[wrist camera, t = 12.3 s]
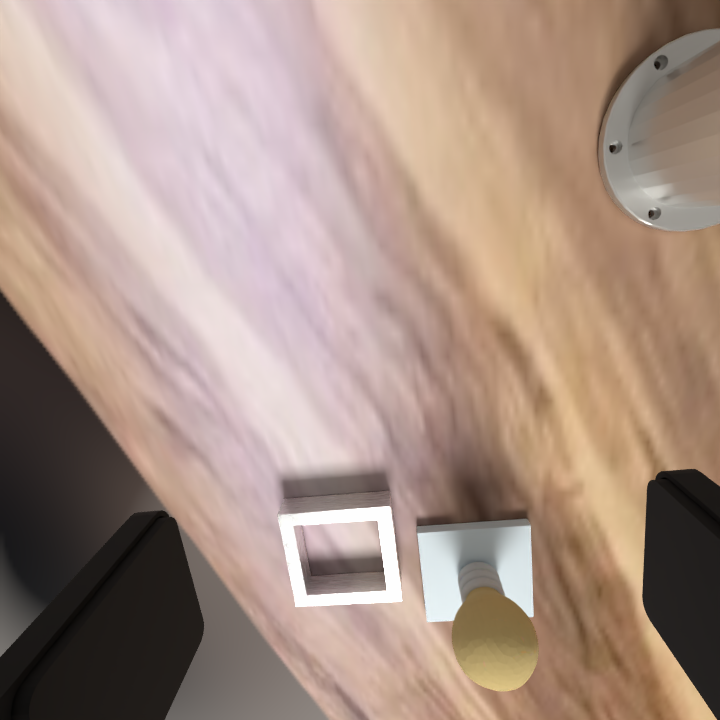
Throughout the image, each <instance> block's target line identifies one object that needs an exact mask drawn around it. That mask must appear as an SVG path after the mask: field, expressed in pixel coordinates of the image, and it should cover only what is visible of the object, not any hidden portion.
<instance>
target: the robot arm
mask: <svg viewBox="0 0 720 720" xmlns="http://www.w3.org/2000/svg"><path fill="white" fill-rule="evenodd" d="M654 64H655V65H656V66H657V68H655V66H654ZM610 146H612V147H613V151H612V153H611V152H610V150H609V147H610ZM598 159H599V167H600V174H601V177H602V180H603V183H604V185H605V188H606V190H607V192H608V194H609V195H610V197H611V199H612V200H613V202H614V203H615V204H616V205H617V206H618V208H619V209H620V210H621V211H622V212H623V213H624V214H625V215H627V216H628V217H630V218H631V219H633V220H634V221H636V222H637V223H639V224H642V225H645V226H647V227H650V228H652V229H658V230H664V231H691V230H699V229H704V228H707V227H711V226H714V225H717V224H720V28H714V29H704V30H701V31H697V32H693V33H690V34H686V35H684V36H682V37H680V38H678V39H676V40H674V41H671V42H669V43H667V44H666V45H664V46H663V47H661V48H660V49H658V50H657V51H655V52H654V53H652V54H651V55H650V56H649V57H647V58H646V59H645V60H644V61H643V62H641V63H640V64H639V65H638V66H637V67H635V69H634V70H633V71H632V72H631V73H630V74H629V76H628V77H627V78H626V79H625V80H624V81H623V82H622V84H621V85H620V87H619V89H618V90H617V92H616V93H615V95H614V97H613V98H612V100H611V102H610V104H609V107H608V109H607V112H606V114H605V116H604V119H603V123H602V127H601V131H600V136H599V147H598ZM649 211H650V212H651V215H650V216H648V213H649ZM642 597H643V604H644V608H645V611H646V613H647V616H648V618H649V619H650V621H651V623H652V624H653V626H654V627H655V628H656V630H657V631H658V633H659V634H660V636H661V637H662V639H663V640H664V642H665V643H666V645H667V646H668V648H669V649H670V651H671V652H672V654H673V655H674V657H675V658H676V659H677V661H678V662H679V664H680V665H681V667H682V668H683V670H684V671H685V673H686V674H687V676H688V677H689V679H690V680H691V682H692V683H693V685H694V686H695V688H696V689H697V690H698V692H699V693H700V695H701V696H702V698H703V699H704V701H705V702H706V704H707V705H708V707H709V708H710V710H711V711H712V713H713V714H714V716H715V717H716V718H717V720H720V486H718V485H717V484H716V483H714V482H713V481H712V480H710V479H709V478H708V477H706V476H705V475H704V474H702V473H701V472H700V471H698V470H696V469H686V470H673V471H661V472H659V473H658V474H657V476H656V479H655V480H651V481H649V483H648V486H647V504H646V526H645V549H644V572H643V594H642ZM203 631H204V622H203V617H202V613H201V610H200V606H199V602H198V599H197V595H196V591H195V588H194V584H193V580H192V577H191V573H190V569H189V566H188V562H187V558H186V555H185V551H184V547H183V543H182V540H181V536H180V533H179V529H178V525H177V522H176V520H175V519H174V518H173V517H169V515H168V514H167V513H166V512H165V511H150V512H138V513H134V514H133V515H132V516H130V518H129V519H128V520H127V521H126V522H125V523H124V524H123V525H122V526H121V527H120V528H119V529H118V531H117V532H116V533H115V534H114V535H113V536H112V537H111V538H110V539H109V540H108V541H107V543H105V545H104V546H103V547H102V548H101V549H100V550H99V551H98V552H97V553H96V554H95V555H94V556H93V558H92V559H91V560H90V561H89V562H88V563H87V564H86V565H85V566H84V567H83V568H82V569H81V571H80V572H79V573H78V574H77V575H76V576H75V577H74V578H73V579H72V580H71V581H70V583H68V585H67V586H66V587H65V588H64V589H63V590H62V591H61V592H60V593H59V594H58V595H57V597H56V598H55V599H54V600H53V601H52V602H51V603H50V604H49V605H48V606H47V607H46V609H45V610H44V611H43V612H42V613H41V614H40V615H39V616H38V617H37V618H36V619H35V620H34V621H33V622H32V623H31V625H30V626H29V627H28V628H27V629H26V630H25V631H24V632H23V633H22V634H21V636H19V638H18V639H17V640H16V641H15V642H14V643H13V644H12V645H11V646H10V647H9V648H8V649H7V650H6V652H5V653H4V654H3V655H2V656H1V657H0V720H165V718H166V715H167V713H168V711H169V709H170V707H171V705H172V702H173V700H174V698H175V696H176V694H177V692H178V690H179V688H180V685H181V683H182V681H183V679H184V677H185V675H186V673H187V670H188V668H189V666H190V664H191V662H192V660H193V657H194V655H195V653H196V651H197V649H198V647H199V644H200V642H201V640H202V636H203Z"/></svg>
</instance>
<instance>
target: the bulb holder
mask: <svg viewBox="0 0 720 720" xmlns="http://www.w3.org/2000/svg"><path fill="white" fill-rule="evenodd" d="M278 520H279V525H280V530H281V535H282V540H283V545H284V550H285V555H286V560H287V564H288V569H289V574H290V579H291V584H292V589H293V594H294V599H295V604H296V607H303V606H322V605H340V604H359V603H378V602H396V601H402V589H401V575H400V567H399V559H398V551H397V543H396V535H395V527H394V519H393V511H392V502H391V494H390V491H377V492H364V493H351V494H338V495H326V496H313V497H300V498H287V499H284V500H283V503H282V505H281V507H280V510H279V512H278ZM367 520H378V525H379V533H380V540H381V548H382V555H383V562H384V570H385V571H382V572H365V573H349V574H332V575H315V576H311V572H310V567H309V561H308V556H307V551H306V545H305V540H304V535H303V529H302V525H311V524H325V523H339V522H353V521H367Z"/></svg>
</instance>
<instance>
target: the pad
mask: <svg viewBox="0 0 720 720" xmlns="http://www.w3.org/2000/svg"><path fill="white" fill-rule="evenodd" d="M417 535H418V544H419V553H420V562H421V571H422V580H423V590H424V599H425V608H426V617H427V622H439V621H454V618H455V615H456V613H457V611H458V609H459V608H460V607H461V605H462V601H461V595H460V590H459V585H458V575H459V573H460V571H461V569H462V568H463V567H465V566H466V565H468V564H470V563H473V562H484V563H487V564H489V565H491V566H492V567H494V568H495V570H496V571H497V572H498V574H499V577H500V581H501V584H502V587H503V590H504V593H505V597H507V598H509V599H511V600H512V601H514V602H515V603H516V604H517V605H518V606H519V607H521V608H522V610H523V611H524V612H525V613H526V614H527V616H528V617H534V615H533V584H532V553H531V525H530V523H529V521H528V519H514V520H500V521H485V522H471V523H457V524H442V525H428V526H417Z"/></svg>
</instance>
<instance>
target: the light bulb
mask: <svg viewBox="0 0 720 720" xmlns="http://www.w3.org/2000/svg"><path fill="white" fill-rule="evenodd" d="M458 585H459V590H460V595H461V601H462V605H461V607H460V608H459V609H458V611H457V613H456V615H455V618H454V621H453V626H452V644H453V649H454V652H455V656H456V659H457V661H458V663H459V665H460V667H461V668H462V670H463V671H464V673H465V674H466V675H467V676H468V677H469V678H470V679H471V680H472V681H474V682H475V683H477V684H479V685H481V686H483V687H485V688H488V689H491V690H496V691H510V690H515V689H517V688H519V687H521V686H522V685H523V684H524V683H525V682H526V681H527V680H528V679H529V678H530V676H531V675H532V673H533V671H534V669H535V666H536V663H537V659H538V652H539V648H538V639H537V635H536V631H535V629H534V626H533V624H532V622H531V620H530V619H529V617H528V616H527V614H526V613H525V612H524V611H523V610H522V608H521V607H519V606H518V605H517V604H516V603H515V602H514V601H512V600H511V599H509V598H507V597H505V593H504V590H503V587H502V584H501V581H500V577H499V574H498V572H497V571H496V570H495V568H494V567H492V566H491V565H489V564H487V563H484V562H473V563H470V564H468V565H466V566H465V567H463V568H462V569H461V571H460V573H459V575H458Z"/></svg>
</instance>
